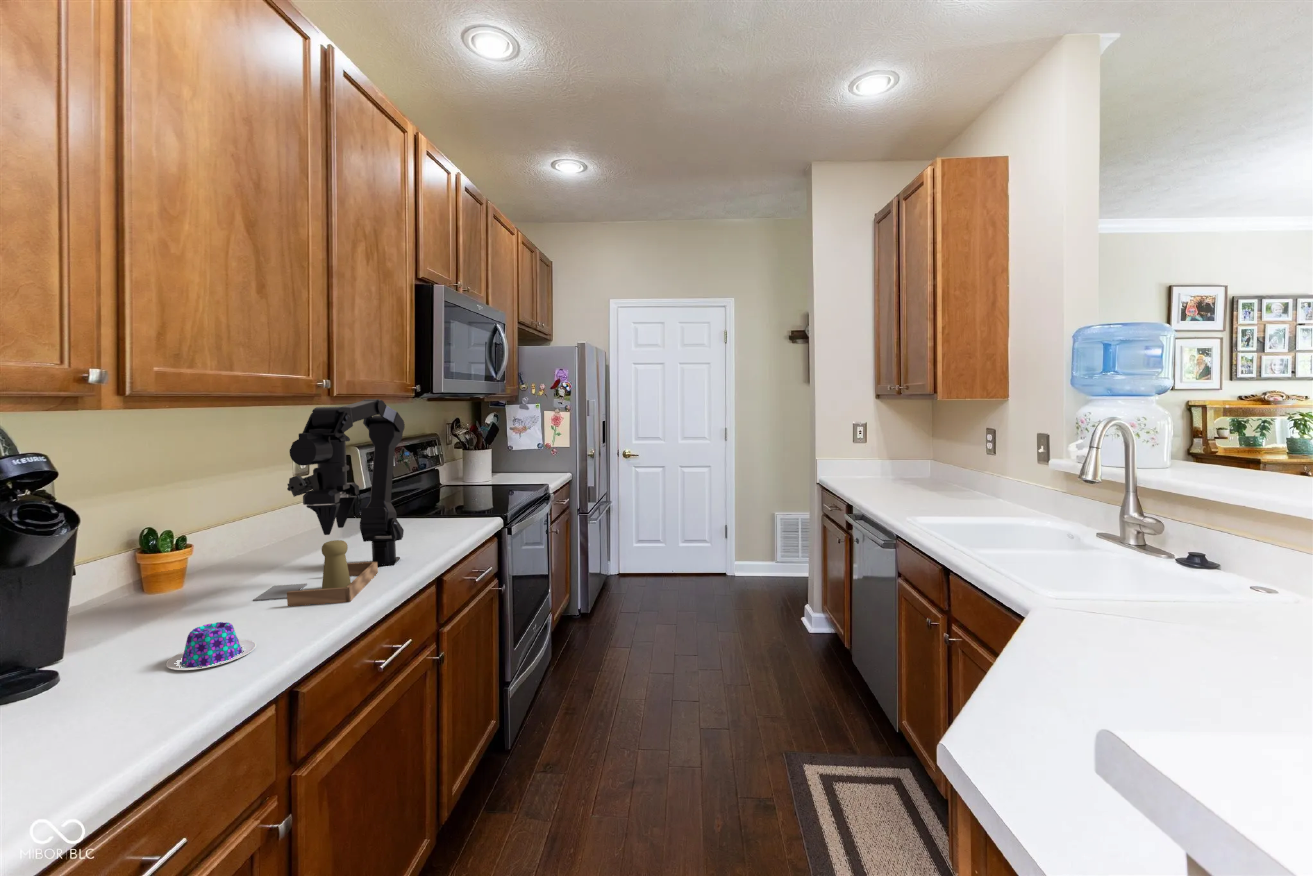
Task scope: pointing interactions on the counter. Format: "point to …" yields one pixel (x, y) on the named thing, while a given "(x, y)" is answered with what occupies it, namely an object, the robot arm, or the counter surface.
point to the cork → (335, 565)
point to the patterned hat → (211, 646)
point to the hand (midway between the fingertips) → (334, 531)
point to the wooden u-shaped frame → (336, 595)
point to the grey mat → (279, 591)
